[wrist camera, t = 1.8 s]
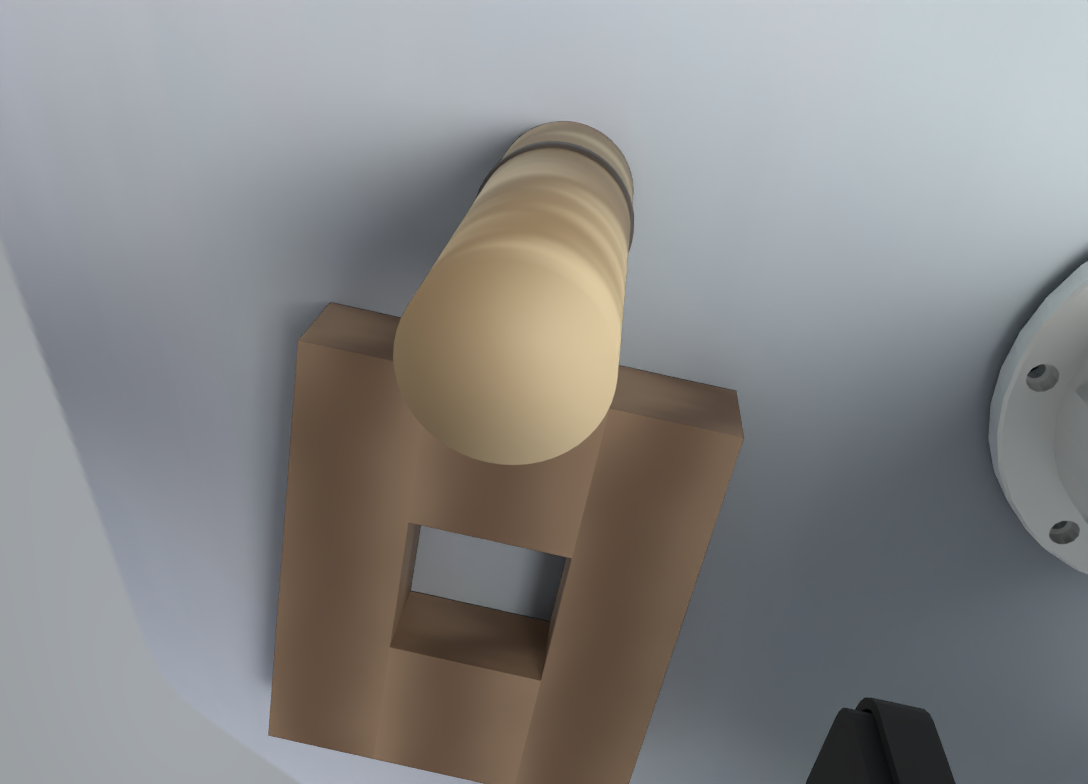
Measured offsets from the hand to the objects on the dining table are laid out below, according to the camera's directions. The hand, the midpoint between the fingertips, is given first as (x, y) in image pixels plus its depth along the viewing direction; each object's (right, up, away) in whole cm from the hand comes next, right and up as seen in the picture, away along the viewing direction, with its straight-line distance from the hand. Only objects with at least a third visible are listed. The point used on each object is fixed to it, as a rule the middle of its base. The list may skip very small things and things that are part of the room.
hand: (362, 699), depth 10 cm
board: (0, -2, +24) cm, 24 cm away
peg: (+2, +9, +18) cm, 20 cm away
